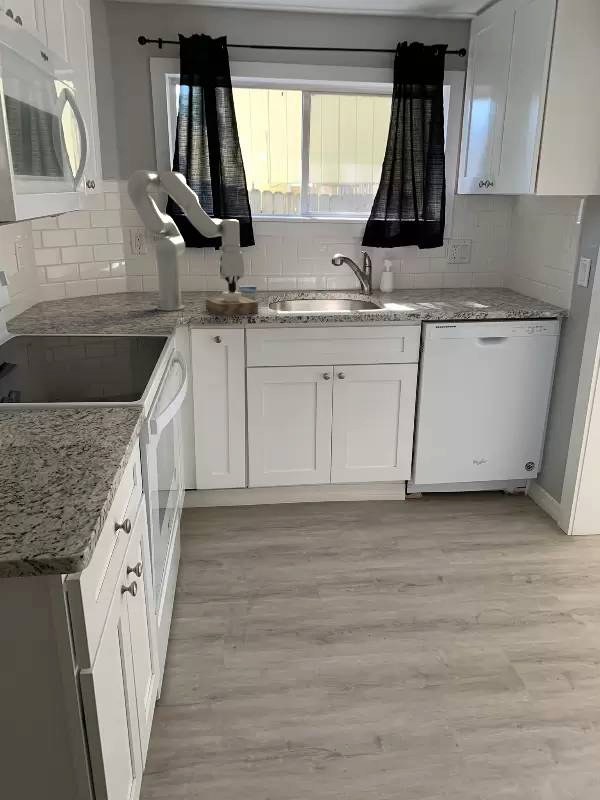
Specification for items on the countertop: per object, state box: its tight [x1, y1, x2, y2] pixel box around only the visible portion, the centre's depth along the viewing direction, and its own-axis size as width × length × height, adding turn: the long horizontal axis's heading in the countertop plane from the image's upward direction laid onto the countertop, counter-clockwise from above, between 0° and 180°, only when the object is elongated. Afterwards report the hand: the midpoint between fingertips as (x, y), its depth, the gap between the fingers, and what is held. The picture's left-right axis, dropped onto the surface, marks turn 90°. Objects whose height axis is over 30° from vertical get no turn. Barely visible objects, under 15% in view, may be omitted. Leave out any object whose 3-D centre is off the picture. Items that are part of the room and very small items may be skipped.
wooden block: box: [205, 297, 259, 317], centre depth 273 cm, size 18×16×5 cm
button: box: [221, 290, 241, 302], centre depth 272 cm, size 6×6×6 cm
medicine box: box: [238, 285, 257, 301], centre depth 292 cm, size 8×4×9 cm, turn 105°
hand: (232, 291), depth 271 cm, fingers closed
